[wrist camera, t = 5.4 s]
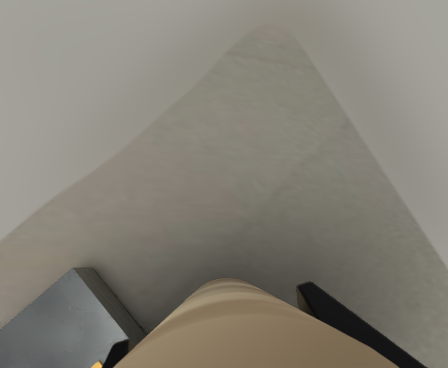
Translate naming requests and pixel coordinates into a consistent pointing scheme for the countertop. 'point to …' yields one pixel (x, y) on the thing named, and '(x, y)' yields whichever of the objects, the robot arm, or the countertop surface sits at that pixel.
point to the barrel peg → (246, 335)
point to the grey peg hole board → (68, 326)
